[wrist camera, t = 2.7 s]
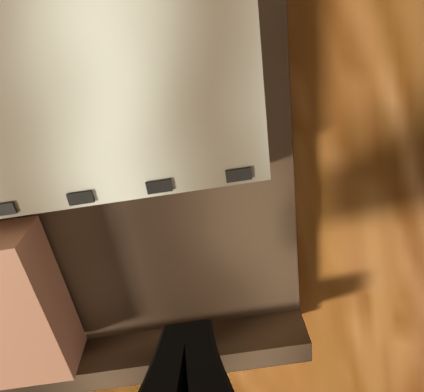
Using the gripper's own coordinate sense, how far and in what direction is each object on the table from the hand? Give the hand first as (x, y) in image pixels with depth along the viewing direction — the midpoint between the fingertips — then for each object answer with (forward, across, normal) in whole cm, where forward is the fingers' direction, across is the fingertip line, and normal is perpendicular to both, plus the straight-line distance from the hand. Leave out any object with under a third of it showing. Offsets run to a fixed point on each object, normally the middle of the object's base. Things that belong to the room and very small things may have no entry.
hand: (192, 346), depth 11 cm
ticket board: (+5, +7, -3) cm, 9 cm away
